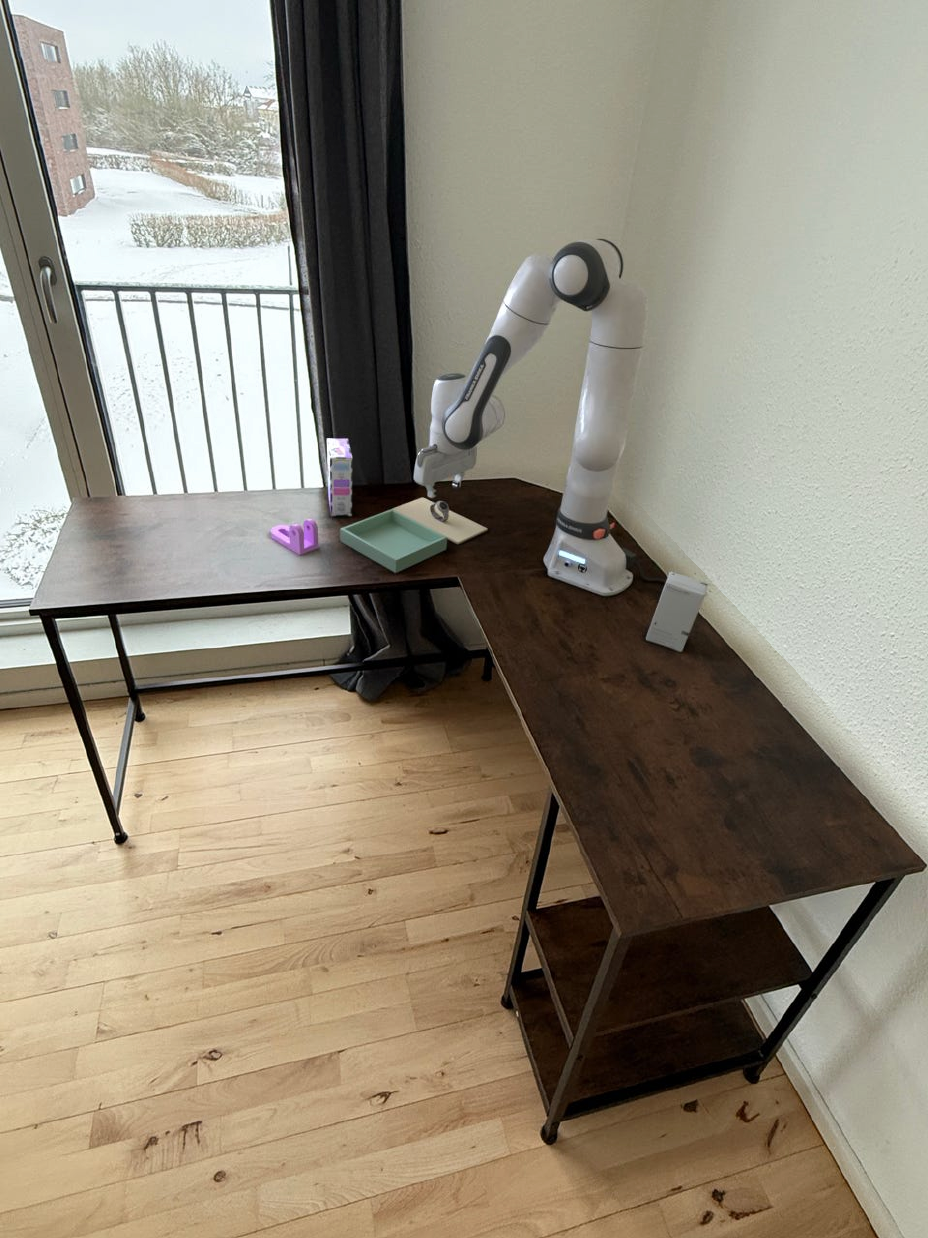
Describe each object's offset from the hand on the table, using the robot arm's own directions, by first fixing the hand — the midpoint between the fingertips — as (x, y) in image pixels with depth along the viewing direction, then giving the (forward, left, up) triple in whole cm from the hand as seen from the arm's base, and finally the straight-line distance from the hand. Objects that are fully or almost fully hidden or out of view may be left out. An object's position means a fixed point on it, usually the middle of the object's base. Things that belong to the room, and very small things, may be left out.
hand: (444, 491), depth 175 cm
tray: (-1, +19, -9) cm, 21 cm away
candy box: (+24, +15, -9) cm, 29 cm away
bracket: (+16, +37, -9) cm, 41 cm away
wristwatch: (+1, 0, -8) cm, 8 cm away
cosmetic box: (-68, +2, -9) cm, 69 cm away
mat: (+1, 0, -9) cm, 8 cm away
